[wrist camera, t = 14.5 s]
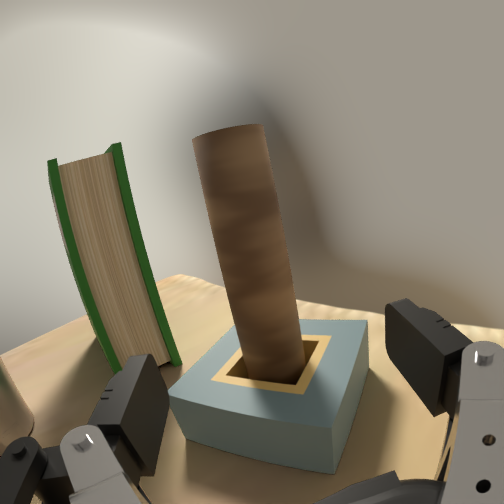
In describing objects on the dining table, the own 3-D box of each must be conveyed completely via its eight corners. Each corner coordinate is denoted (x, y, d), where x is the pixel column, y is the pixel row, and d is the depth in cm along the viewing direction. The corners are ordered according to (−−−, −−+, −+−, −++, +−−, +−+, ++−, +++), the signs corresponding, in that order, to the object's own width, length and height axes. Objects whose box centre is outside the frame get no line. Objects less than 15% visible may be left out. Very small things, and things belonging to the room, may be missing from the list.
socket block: (185, 438, 22) (164, 393, 21) (252, 358, 32) (241, 317, 31) (334, 474, 16) (331, 427, 15) (368, 366, 26) (367, 319, 25)
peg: (246, 411, 23) (177, 142, 18) (269, 378, 27) (216, 140, 22) (299, 420, 21) (241, 122, 16) (317, 383, 24) (273, 125, 19)
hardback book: (182, 363, 33) (120, 142, 27) (123, 391, 29) (47, 160, 23) (137, 319, 48) (95, 169, 42) (96, 336, 44) (49, 182, 38)
